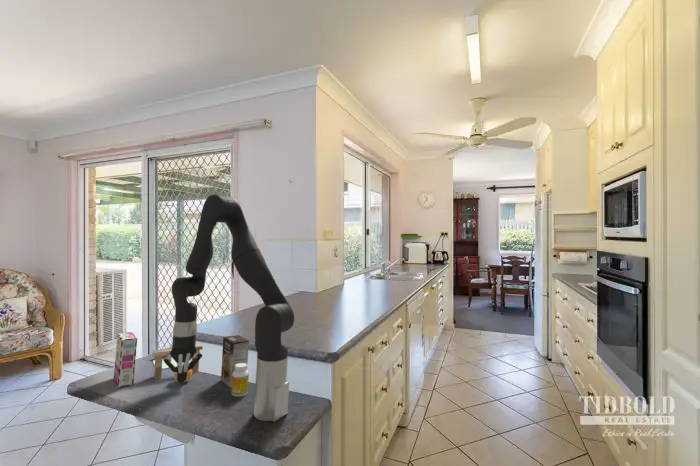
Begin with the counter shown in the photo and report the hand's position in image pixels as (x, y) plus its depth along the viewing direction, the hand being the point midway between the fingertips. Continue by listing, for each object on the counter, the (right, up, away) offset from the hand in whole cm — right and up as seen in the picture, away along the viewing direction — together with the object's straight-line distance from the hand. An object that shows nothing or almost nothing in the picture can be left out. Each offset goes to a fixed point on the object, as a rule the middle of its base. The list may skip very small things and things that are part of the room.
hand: (181, 382), depth 118 cm
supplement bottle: (+22, -3, -3) cm, 22 cm away
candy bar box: (-22, -1, +2) cm, 22 cm away
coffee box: (+16, -3, +6) cm, 18 cm away
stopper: (-20, -2, +29) cm, 35 cm away
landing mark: (-16, -2, +22) cm, 27 cm away
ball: (-1, +1, +4) cm, 5 cm away
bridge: (-7, -2, +11) cm, 13 cm away
